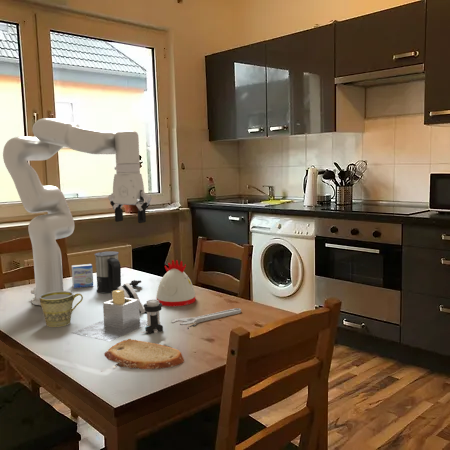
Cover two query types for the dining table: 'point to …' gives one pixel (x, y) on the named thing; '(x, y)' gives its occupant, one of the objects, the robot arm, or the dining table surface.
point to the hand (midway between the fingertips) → (130, 221)
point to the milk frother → (109, 272)
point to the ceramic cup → (58, 307)
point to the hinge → (131, 295)
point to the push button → (153, 317)
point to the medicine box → (82, 275)
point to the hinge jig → (115, 321)
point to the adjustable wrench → (207, 317)
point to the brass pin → (118, 296)
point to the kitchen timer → (175, 287)
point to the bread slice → (144, 355)
